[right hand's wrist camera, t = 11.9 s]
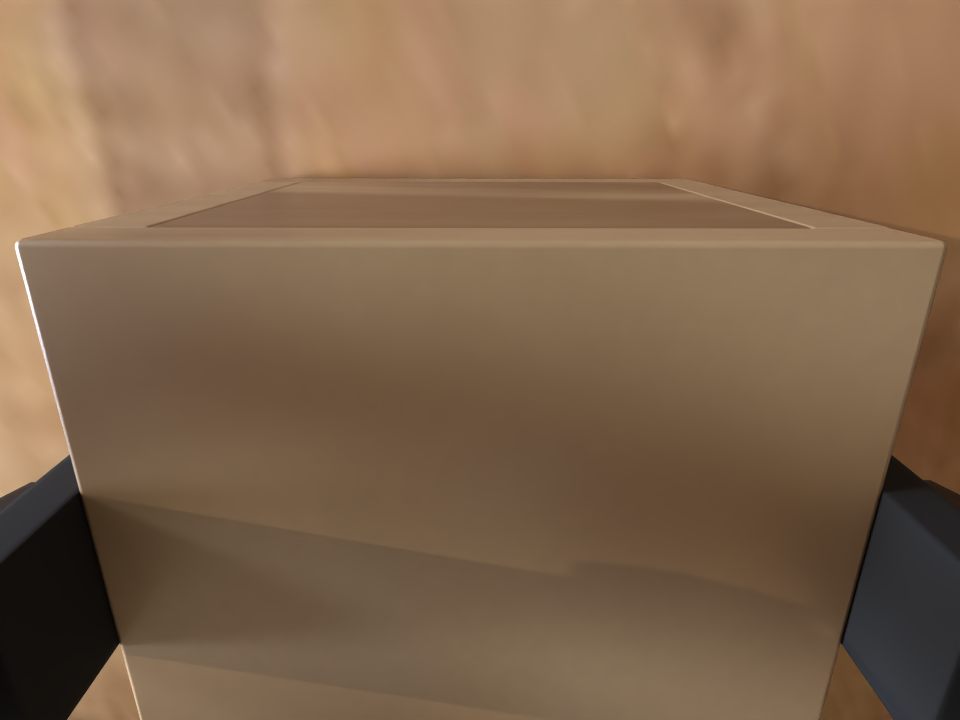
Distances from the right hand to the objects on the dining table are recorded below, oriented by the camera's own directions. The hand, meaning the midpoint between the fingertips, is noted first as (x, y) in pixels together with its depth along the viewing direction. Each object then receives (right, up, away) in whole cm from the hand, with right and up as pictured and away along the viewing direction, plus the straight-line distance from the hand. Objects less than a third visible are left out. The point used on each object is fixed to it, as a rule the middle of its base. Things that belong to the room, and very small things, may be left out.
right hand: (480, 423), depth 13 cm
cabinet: (0, -4, +7) cm, 8 cm away
